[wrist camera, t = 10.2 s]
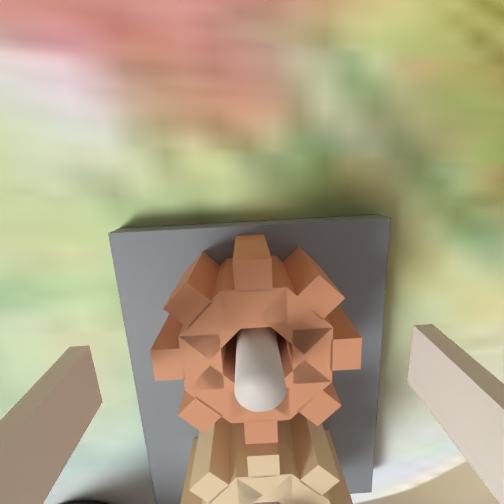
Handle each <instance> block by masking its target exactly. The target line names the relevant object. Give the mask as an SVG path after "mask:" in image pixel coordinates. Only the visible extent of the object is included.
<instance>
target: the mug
mask: <svg viewBox="0 0 504 504" xmlns="http://www.w3.org/2000/svg"><path fill="white" fill-rule="evenodd" d="M68 504H106V503H101V502H95V501H80V502H73V503H68Z"/></svg>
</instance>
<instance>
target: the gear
mask: <svg viewBox="0 0 504 504" xmlns="http://www.w3.org/2000/svg"><path fill="white" fill-rule="evenodd" d="M344 299H345V297H344V296H343V295H342V294H341V292H340V291H339V290H338V289H337V287H336V286H335V285H334V284H333V282H332V281H331V280H330V279H329V277H328V276H327V275H326V274H325V272H324V271H323V270H322V269H321V267H320V266H319V265H318V264H317V263H316V262H315V261H314V260H313V259H312V258H311V257H310V256H309V255H307V254H306V253H305V252H304V251H303V250H302V249H301V248H300V247H299V246H298V247H297V248H296V249H295V250H294V251H293V252H292V253H291V254H290V255H289V256H288V257H287V258H286V259H285V260H284V261H283V262H282V261H281V260H280V259H279V258H278V257H276V256H271V255H270V252H269V249H268V246H267V242H266V239H265V236H264V234H258V235H240V236H236V239H235V246H234V254H233V258H227V259H226V260H225V261H224V262H223V263H222V264H221V265H219V264H218V263H216V262H215V261H214V260H213V259H212V258H210V257H209V256H208V255H207V254H206V253H204V252H202V253H201V254H200V255H199V256H198V257H197V259H196V260H195V261H194V262H193V263H192V264H191V265H190V266H189V268H188V269H187V270H186V271H185V272H184V274H183V276H182V277H181V279H180V281H179V283H178V284H177V286H176V288H175V289H174V291H173V293H172V294H171V296H170V298H169V299H168V301H167V303H166V304H165V306H164V308H163V309H164V310H165V311H167V312H168V313H169V316H168V317H167V319H166V321H165V323H164V325H163V327H162V329H161V331H160V333H159V334H158V336H157V338H156V340H155V342H154V344H153V346H152V348H151V350H150V353H151V359H152V365H153V372H154V378H155V381H167V380H184V387H185V391H184V395H183V398H182V402H181V406H180V409H179V413H178V416H179V417H181V418H182V419H184V420H185V421H186V422H188V423H189V424H191V425H192V426H194V427H195V428H197V429H198V430H200V431H201V432H203V433H205V432H206V431H207V430H208V429H209V428H210V427H211V426H212V425H213V424H214V423H215V422H216V421H217V420H219V419H220V418H221V417H223V418H224V419H226V420H227V421H228V422H230V423H244V431H245V444H259V443H276V442H278V428H277V421H280V420H290V419H291V418H293V417H294V416H295V415H296V414H297V413H298V412H300V413H301V414H302V415H303V416H305V417H306V418H307V419H309V420H310V421H311V422H313V423H314V424H315V425H317V426H319V425H320V424H321V423H322V422H324V421H325V420H326V419H327V418H328V417H329V416H330V415H332V414H333V413H334V412H335V411H336V410H337V409H338V408H340V407H341V406H342V405H341V403H340V400H339V398H338V395H337V393H336V391H335V388H334V386H333V383H332V371H335V370H352V369H361V349H362V337H361V336H360V334H359V333H358V331H357V330H356V329H355V327H354V326H353V324H352V323H351V322H350V320H349V319H348V317H347V316H346V315H345V313H344V312H343V310H342V309H341V308H340V306H339V304H340V303H341V302H342V301H343V300H344ZM261 327H272V328H273V329H274V330H275V332H276V337H277V342H278V347H279V353H280V358H281V363H282V368H283V373H284V378H285V383H286V395H285V397H284V399H283V401H282V402H281V403H280V404H279V405H278V406H277V407H275V408H274V409H272V410H269V411H265V412H254V411H250V410H248V409H246V408H244V407H243V406H241V405H240V404H239V402H238V401H237V399H236V397H235V393H234V388H235V366H236V344H237V332H238V331H239V330H240V329H244V328H261Z"/></svg>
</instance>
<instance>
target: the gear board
mask: <svg viewBox="0 0 504 504" xmlns="http://www.w3.org/2000/svg"><path fill="white" fill-rule="evenodd" d="M389 232H390V218H389V217H385V216H382V215H360V216H342V217H323V218H305V219H286V220H268V221H249V222H230V223H212V224H193V225H175V226H156V227H138V228H119V229H117V230H115V231H112V232H110V233H108V235H109V241H110V246H111V252H112V257H113V263H114V269H115V274H116V280H117V286H118V291H119V297H120V302H121V308H122V314H123V319H124V325H125V330H126V336H127V342H128V347H129V353H130V359H131V364H132V370H133V375H134V381H135V387H136V392H137V398H138V404H139V409H140V415H141V420H142V426H143V432H144V437H145V443H146V448H147V454H148V460H149V465H150V471H151V477H152V482H153V488H154V493H155V499H156V504H353V503H352V500H351V497H350V494H352V493H367V492H371V490H372V476H373V461H374V447H375V433H376V418H377V404H378V390H379V375H380V361H381V347H382V332H383V318H384V304H385V289H386V275H387V261H388V246H389ZM258 234H264V236H265V239H266V242H267V246H268V249H269V252H270V255H271V256H276V257H278V258H279V259H280V260H281V261H282V262H283V261H284V260H285V259H286V258H287V257H288V256H289V255H290V254H291V253H292V252H293V251H294V250H295V249H296V248H297V247H298V246H299V247H300V248H301V249H302V250H303V251H304V252H305V253H306V254H307V255H309V256H310V257H311V258H312V259H313V260H314V261H315V262H316V263H317V264H318V265H319V266H320V267H321V269H322V270H323V271H324V272H325V274H326V275H327V276H328V277H329V279H330V280H331V281H332V282H333V284H334V285H335V286H336V287H337V289H338V290H339V291H340V292H341V294H342V295H343V296H344V297H345V299H344V300H343V301H342V302H341V303H340V304H339V306H340V308H341V309H342V310H343V312H344V313H345V315H346V316H347V317H348V319H349V320H350V322H351V323H352V324H353V326H354V327H355V329H356V330H357V331H358V333H359V334H360V336H361V337H362V349H361V369H352V370H335V371H332V383H333V386H334V388H335V391H336V393H337V395H338V398H339V400H340V403H341V405H342V406H341V407H340V408H338V409H337V410H336V411H335V412H334V413H333V414H332V415H330V416H329V417H328V418H327V419H326V420H325V421H324V422H322V423H321V424H320V425H319V426H317V425H315V424H314V423H313V422H311V421H310V420H309V419H307V418H306V417H305V416H303V415H302V414H301V413H300V412H298V413H297V414H296V415H295V416H294V417H293V418H291V419H290V420H280V421H277V428H278V442H276V443H259V444H245V431H244V423H230V422H228V421H227V420H226V419H224V418H223V417H221V418H220V419H219V420H217V421H216V422H215V423H214V424H213V425H212V426H211V427H210V428H209V429H208V430H207V431H206V432H205V433H203V432H201V431H200V430H198V429H197V428H195V427H194V426H192V425H191V424H189V423H188V422H186V421H185V420H184V419H182V418H181V417H179V416H178V413H179V409H180V406H181V402H182V398H183V395H184V391H185V387H184V380H167V381H155V378H154V372H153V365H152V359H151V353H150V350H151V348H152V346H153V344H154V342H155V340H156V338H157V336H158V334H159V333H160V331H161V329H162V327H163V325H164V323H165V321H166V319H167V317H168V316H169V313H168V312H167V311H165V310H164V309H163V308H164V306H165V304H166V303H167V301H168V299H169V298H170V296H171V294H172V293H173V291H174V289H175V288H176V286H177V284H178V283H179V281H180V279H181V277H182V276H183V274H184V272H185V271H186V270H187V269H188V268H189V266H190V265H191V264H192V263H193V262H194V261H195V260H196V259H197V257H198V256H199V255H200V254H201V253H202V252H204V253H206V254H207V255H208V256H209V257H210V258H212V259H213V260H214V261H215V262H216V263H218V264H219V265H221V264H222V263H223V262H224V261H225V260H226V259H227V258H233V254H234V246H235V239H236V236H240V235H258ZM234 393H235V397H236V399H237V401H238V402H239V404H240V405H241V406H243V407H244V408H246V409H248V410H250V411H254V412H265V411H269V410H272V409H274V408H275V407H277V406H278V405H279V404H280V403H281V402H282V401H283V399H284V397H285V395H286V383H285V378H284V373H283V368H282V363H281V358H280V353H279V347H278V342H277V337H276V332H275V330H274V329H273V328H272V327H261V328H244V329H240V330H239V331H238V332H237V344H236V366H235V388H234Z"/></svg>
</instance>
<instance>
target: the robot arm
mask: <svg viewBox="0 0 504 504" xmlns="http://www.w3.org/2000/svg"><path fill="white" fill-rule="evenodd" d="M407 382H408V384H409V385H410V386H411V387H412V389H413V390H414V391H415V393H416V394H417V395H418V397H419V398H420V399H421V401H422V402H423V403H424V405H425V406H426V407H427V408H428V410H429V411H430V412H431V414H432V415H433V416H434V418H435V419H436V420H437V422H438V423H439V424H440V426H441V427H442V428H443V429H444V431H445V432H446V433H447V435H448V436H449V437H450V439H451V440H452V441H453V443H454V444H455V445H456V447H457V448H458V449H459V451H460V452H461V453H462V454H463V456H464V457H465V458H466V460H467V461H468V462H469V464H470V465H471V466H472V468H473V469H474V470H475V472H476V473H477V474H478V475H479V477H480V478H481V479H482V481H483V482H484V483H485V484H486V486H487V487H488V489H489V490H490V491H491V493H492V494H493V495H494V496H495V498H496V499H497V500H498V502H499V503H500V504H504V384H503V383H502V382H501V381H499V380H498V379H497V378H496V377H495V376H494V375H492V374H491V373H490V372H489V371H488V370H486V369H485V368H484V367H483V366H482V365H480V364H479V363H478V362H477V361H476V360H474V359H473V358H472V357H471V356H470V355H468V354H467V353H466V352H465V351H464V350H463V349H461V348H460V347H459V346H458V345H457V344H455V343H454V342H453V341H452V340H451V339H449V338H448V337H447V336H446V335H445V334H443V333H442V332H441V331H440V330H439V329H437V328H436V327H435V326H434V325H433V324H429V325H414V329H413V337H412V346H411V355H410V363H409V372H408V380H407ZM101 403H102V398H101V394H100V390H99V385H98V381H97V377H96V373H95V368H94V364H93V360H92V355H91V351H90V347H89V346H75V347H69V348H68V349H67V350H66V351H65V353H64V354H63V355H62V356H61V357H60V358H59V359H58V360H57V361H56V362H55V363H54V364H53V365H52V366H51V367H50V368H49V370H48V371H47V372H46V373H45V374H44V375H43V376H42V377H41V378H40V379H39V380H38V381H37V382H36V383H35V384H34V385H33V387H32V388H31V389H30V390H29V391H28V392H27V393H26V394H25V395H24V396H23V397H22V398H21V399H20V400H19V401H18V402H17V404H16V405H15V406H14V407H13V408H12V409H11V410H10V411H9V412H8V413H7V414H6V415H5V416H4V417H3V418H2V419H1V421H0V504H43V502H44V501H45V499H46V497H47V496H48V494H49V492H50V490H51V489H52V487H53V485H54V484H55V482H56V480H57V479H58V477H59V475H60V473H61V472H62V470H63V468H64V467H65V465H66V463H67V461H68V460H69V458H70V456H71V455H72V453H73V451H74V450H75V448H76V446H77V444H78V443H79V441H80V439H81V438H82V436H83V434H84V432H85V431H86V429H87V427H88V426H89V424H90V422H91V421H92V419H93V417H94V415H95V414H96V412H97V410H98V409H99V407H100V405H101Z"/></svg>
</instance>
